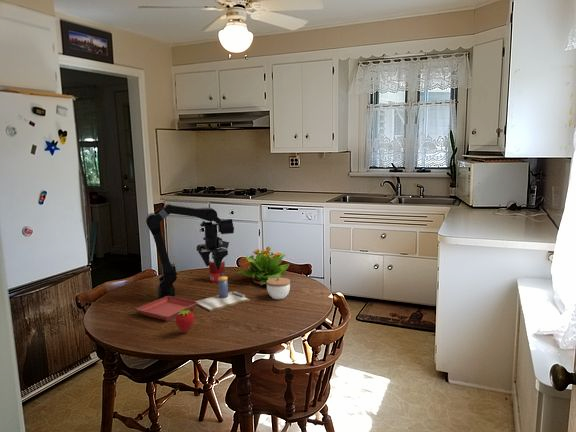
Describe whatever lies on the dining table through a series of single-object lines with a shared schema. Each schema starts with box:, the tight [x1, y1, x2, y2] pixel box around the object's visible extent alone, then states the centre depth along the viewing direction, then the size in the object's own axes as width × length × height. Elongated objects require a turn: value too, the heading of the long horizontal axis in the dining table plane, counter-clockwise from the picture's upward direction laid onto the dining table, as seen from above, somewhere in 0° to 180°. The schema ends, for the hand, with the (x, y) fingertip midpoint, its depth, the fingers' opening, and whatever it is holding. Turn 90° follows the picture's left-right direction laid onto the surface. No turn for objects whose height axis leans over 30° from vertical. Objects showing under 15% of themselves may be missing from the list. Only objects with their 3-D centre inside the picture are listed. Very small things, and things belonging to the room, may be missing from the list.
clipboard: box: [194, 290, 251, 313], centre depth 196 cm, size 20×15×2 cm
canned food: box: [208, 258, 226, 284], centre depth 227 cm, size 8×8×11 cm
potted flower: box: [237, 246, 290, 286], centre depth 224 cm, size 25×24×18 cm
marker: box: [218, 275, 229, 298], centre depth 199 cm, size 4×4×9 cm
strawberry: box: [175, 307, 195, 334], centre depth 162 cm, size 6×8×10 cm
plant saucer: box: [136, 296, 198, 322], centre depth 184 cm, size 18×18×3 cm
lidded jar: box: [265, 276, 291, 300], centre depth 199 cm, size 11×11×9 cm
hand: (212, 268), depth 206 cm, fingers open, 9 cm apart
